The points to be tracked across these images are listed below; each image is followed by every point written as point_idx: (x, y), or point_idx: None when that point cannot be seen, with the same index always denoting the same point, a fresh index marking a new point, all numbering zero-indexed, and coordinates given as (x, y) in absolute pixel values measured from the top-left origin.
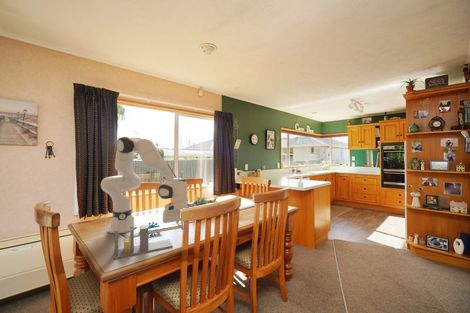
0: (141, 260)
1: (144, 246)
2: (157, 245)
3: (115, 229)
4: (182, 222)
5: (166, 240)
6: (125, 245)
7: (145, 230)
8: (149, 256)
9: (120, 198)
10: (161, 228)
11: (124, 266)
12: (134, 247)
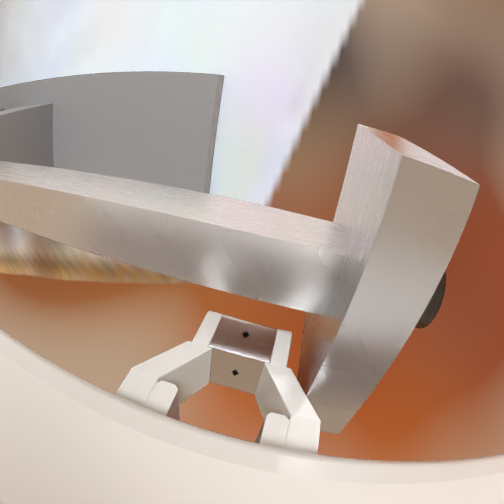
0: (46, 259)
1: None
2: (101, 153)
3: None
4: (273, 408)
5: (185, 87)
6: None
7: None
8: (69, 247)
9: None
10: (11, 223)
11: (10, 259)
12: (7, 109)
